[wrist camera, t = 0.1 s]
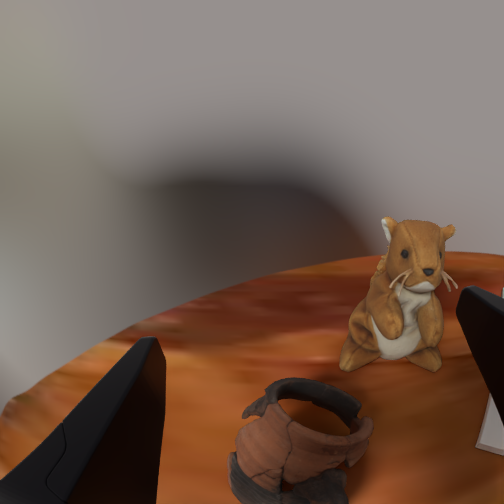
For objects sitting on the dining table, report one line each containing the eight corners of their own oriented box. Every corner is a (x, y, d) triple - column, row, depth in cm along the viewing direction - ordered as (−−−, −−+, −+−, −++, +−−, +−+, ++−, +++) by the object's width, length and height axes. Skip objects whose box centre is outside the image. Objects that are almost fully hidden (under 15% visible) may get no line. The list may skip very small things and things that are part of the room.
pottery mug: (209, 444, 21) (235, 363, 20) (311, 445, 23) (348, 373, 22) (241, 572, 9) (298, 511, 8) (372, 542, 12) (443, 469, 11)
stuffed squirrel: (335, 378, 25) (346, 246, 19) (354, 288, 36) (359, 183, 30) (440, 388, 21) (491, 260, 15) (431, 295, 32) (450, 191, 26)
